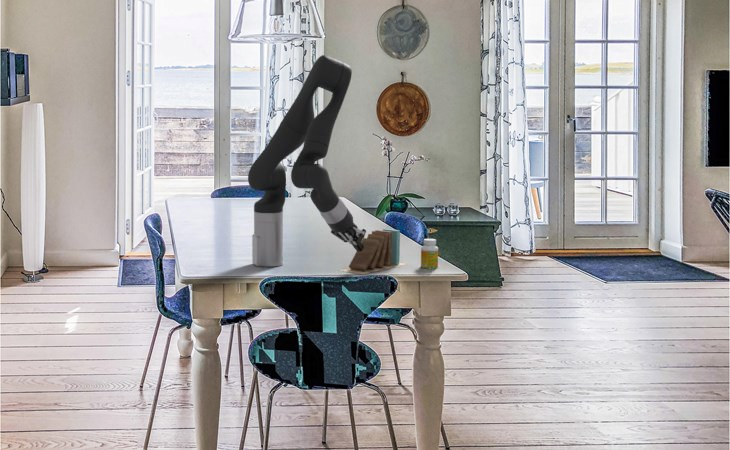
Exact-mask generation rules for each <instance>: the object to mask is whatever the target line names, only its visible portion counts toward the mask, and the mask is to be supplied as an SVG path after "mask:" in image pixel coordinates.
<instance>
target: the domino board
mask: <svg viewBox="0 0 730 450" xmlns="http://www.w3.org/2000/svg"><path fill="white" fill-rule="evenodd" d="M404 265H406V263H405V262H399V264H398V265H395V264H391V266H383V268H380V267H375V269H374V270H372V269H366V271H365V272H363V271H357V270H351V269H350V268H349V267H348V268H344V269H340V270H338V271H339V272H345V273H349V274H355V275H366V274H370V273H373V272H378V271H384V270H387V269H392V268H396V267H401V266H404Z"/></svg>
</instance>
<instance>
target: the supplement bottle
mask: <svg viewBox="0 0 730 450" xmlns="http://www.w3.org/2000/svg"><path fill="white" fill-rule="evenodd" d="M438 267H439V247H438V246H437V239H435V238H424V239H423V245H422V246H421V248H420V268H421V269H424V270H435V269H438Z"/></svg>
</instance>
